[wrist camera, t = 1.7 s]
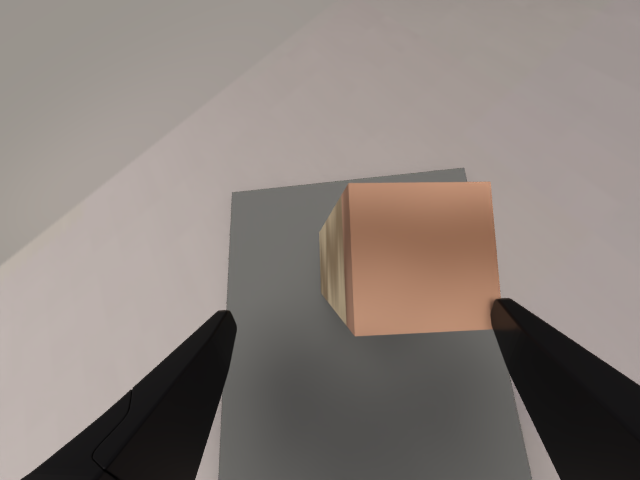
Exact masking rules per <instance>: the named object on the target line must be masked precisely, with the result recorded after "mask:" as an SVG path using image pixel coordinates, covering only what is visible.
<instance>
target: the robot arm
mask: <svg viewBox="0 0 640 480" xmlns="http://www.w3.org/2000/svg"><path fill="white" fill-rule="evenodd" d="M490 316H491V325H492V328H493V331H494V334H495V337H496V339H497V342H498V345H499V348H500V351H501V353H502V356H503V359H504V362H505V364H506V367H507V369H508V371H509V374H510V376H511V378H512V380H513V382H514V384H515V386H516V388H517V390H518V392H519V394H520V397H521V399H522V401H523V403H524V405H525V407H526V409H527V411H528V413H529V415H530V417H531V419H532V421H533V423H534V426H535V428H536V430H537V432H538V434H539V436H540V438H541V440H542V442H543V444H544V446H545V448H546V450H547V452H548V455H549V457H550V459H551V461H552V463H553V465H554V467H555V469H556V471H557V473H558V475H559V477H560V479H561V480H640V385H638V384H637V383H635V382H634V381H632V380H631V379H629V378H628V377H626V376H625V375H623V374H622V373H621V372H619V371H618V370H616V369H615V368H613V367H612V366H610V365H609V364H607V363H606V362H604V361H603V360H601V359H600V358H598V357H597V356H595V355H594V354H592V353H591V352H589V351H588V350H586V349H585V348H583V347H582V346H580V345H579V344H577V343H576V342H574V341H573V340H571V339H570V338H568V337H567V336H566V335H564V334H563V333H561V332H560V331H558V330H557V329H555V328H554V327H552V326H551V325H549V324H548V323H546V322H545V321H543V320H542V319H540V318H539V317H537V316H536V315H534V314H533V313H531V312H530V311H528V310H527V309H525V308H524V307H522V306H521V305H519V304H518V303H516V302H515V301H513V300H512V299H510V298H498V299H495V300H494V303H493V307H492V310H491V314H490ZM236 333H237V324H236V322H235V320H234V317H233V315H232V313H231V311H229V310H220V311H217V312H216V313H215V314H214V315H213V316H212V317H211V318H210V319H208V320H207V321H206V322H205V323H204V324H203V325H202V326H201V327H200V328H198V329H197V330H196V331H195V332H194V333H193V334H192V335H191V336H190V337H189V338H187V339H186V340H185V341H184V342H183V343H182V344H181V345H180V346H179V347H177V348H176V349H175V350H174V351H173V352H172V353H171V354H170V355H169V356H168V357H166V358H165V359H164V360H163V361H162V362H161V363H160V364H159V365H158V366H156V367H155V368H154V369H153V370H152V371H151V372H150V373H149V374H148V375H146V376H145V377H144V378H143V379H142V380H141V381H140V382H139V383H138V384H137V385H135V386H134V387H133V389H132V390H130V391H129V392H128V393H126V394H125V395H124V396H123V397H122V398H121V399H120V400H119V401H118V402H116V403H115V404H114V405H113V406H112V407H111V408H110V409H108V410H107V411H106V412H105V413H104V414H103V415H102V416H100V417H99V418H98V419H97V420H95V421H94V422H93V423H92V424H91V425H89V426H88V427H87V428H86V429H85V430H83V431H82V432H81V433H80V434H78V435H77V436H76V437H75V438H73V439H72V440H71V441H70V442H68V443H67V444H66V445H65V446H63V447H62V448H61V449H60V450H59V451H57V452H56V453H55V454H54V455H52V456H51V457H50V458H49V459H47V460H46V461H45V462H44V463H42V464H41V465H40V466H39V467H37V468H36V469H35V470H33V471H32V472H31V473H29V474H28V475H26V476H25V477H24V478H22V479H21V480H195V478H196V475H197V472H198V469H199V465H200V462H201V459H202V456H203V453H204V449H205V446H206V443H207V440H208V437H209V433H210V430H211V427H212V424H213V420H214V417H215V414H216V411H217V408H218V404H219V401H220V398H221V395H222V392H223V388H224V385H225V382H226V379H227V375H228V372H229V368H230V363H231V358H232V353H233V348H234V343H235V338H236Z"/></svg>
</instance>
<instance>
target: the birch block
mask: <svg viewBox="0 0 640 480" xmlns="http://www.w3.org/2000/svg"><path fill="white" fill-rule="evenodd" d="M319 243H320V275H321V294H322V295H323V296H324V298H325V299H326V300H327V301H328V303H329V304H330V305H331V307H332V308H333V309H334V310H335V312H336V313H337V314H338V316H339V317H340V318H341V319H342V321H343V322H344V323H345V324H346V326H347V327H348V328H349V330H350V331H351V332H352V333H353V335H354V336H371V335H391V334H410V333H430V332H449V331H469V330H488V329H493V328H492V325H491V316H490V314H491V310H492V307H493V303H494V300H495V299H498V298H501V297H500V285H499V274H498V263H497V251H496V240H495V229H494V218H493V206H492V195H491V184H490V182H416V183H348V185H347V186H346V188H345V190H344V191H343V193H342V195H341V197H340V198H339V200H338V202H337V203H336V205H335V207H334V208H333V210H332V212H331V213H330V215H329V217H328V219H327V220H326V222H325V224H324V225H323V227H322V229H321V230H320V232H319Z"/></svg>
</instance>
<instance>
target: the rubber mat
mask: <svg viewBox="0 0 640 480" xmlns="http://www.w3.org/2000/svg"><path fill="white" fill-rule="evenodd" d="M416 182H467V179H466V174H465V169H464V168H457V169H447V170H438V171H429V172H419V173H410V174H401V175H391V176H382V177H373V178H363V179H354V180H344V181H335V182H326V183H316V184H307V185H298V186H288V187H279V188H270V189H260V190H251V191H242V192H232V204H231V225H230V246H229V267H228V288H227V309H226V310H229V311H231V313H232V315H233V317H234V320H235V322H236V324H237V333H236V338H235V343H234V348H233V353H232V358H231V363H230V368H229V372H228V375H227V379H226V382H225V385H224V388H223V393H222V414H221V435H220V456H219V477H218V480H532V477H531V472H530V467H529V463H528V458H527V454H526V449H525V444H524V440H523V435H522V431H521V426H520V422H519V417H518V412H517V408H516V403H515V399H514V394H513V389H512V385H511V380H510V376H509V371H508V369H507V367H506V364H505V362H504V359H503V356H502V353H501V351H500V348H499V345H498V342H497V339H496V337H495V334H494V331H493V329H488V330H469V331H449V332H430V333H410V334H391V335H371V336H354V335H353V333H352V332H351V331H350V330H349V328H348V327H347V326H346V324H345V323H344V322H343V321H342V319H341V318H340V317H339V316H338V314H337V313H336V312H335V310H334V309H333V308H332V307H331V305H330V304H329V303H328V301H327V300H326V299H325V298H324V296H323V295H322V294H321V275H320V243H319V232H320V230H321V229H322V227H323V225H324V224H325V222H326V220H327V219H328V217H329V215H330V213H331V212H332V210H333V208H334V207H335V205H336V203H337V202H338V200H339V198H340V197H341V195H342V193H343V191H344V190H345V188H346V186H347V185H348V183H416Z"/></svg>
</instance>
